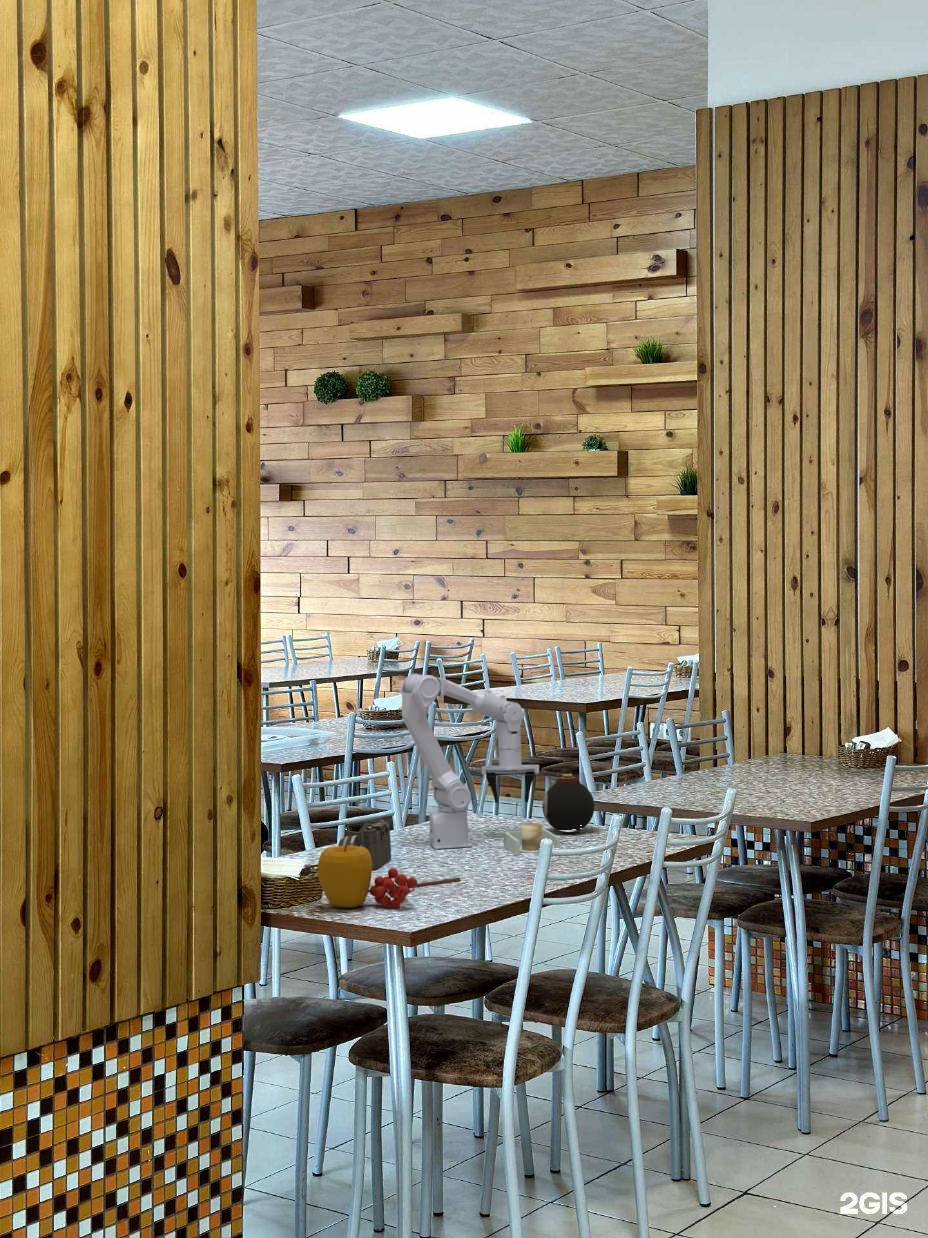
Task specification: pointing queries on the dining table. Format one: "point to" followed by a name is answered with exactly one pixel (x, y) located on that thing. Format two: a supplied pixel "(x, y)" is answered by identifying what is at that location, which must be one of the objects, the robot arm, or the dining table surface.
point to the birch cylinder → (531, 836)
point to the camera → (373, 842)
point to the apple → (345, 875)
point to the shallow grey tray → (515, 840)
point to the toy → (568, 804)
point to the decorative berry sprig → (398, 888)
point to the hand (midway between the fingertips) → (511, 802)
